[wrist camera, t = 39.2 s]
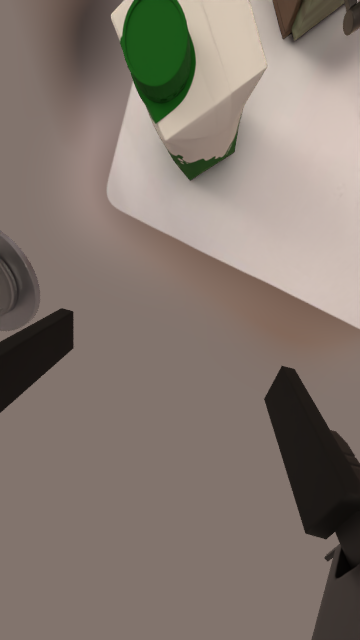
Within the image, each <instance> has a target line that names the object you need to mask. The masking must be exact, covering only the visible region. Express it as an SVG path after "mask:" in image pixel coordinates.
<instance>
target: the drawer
mask: <svg viewBox="0 0 360 640" xmlns="http://www.w3.org/2000/svg"><path fill="white" fill-rule="evenodd" d="M344 3H345V7H346V14H345V17H344V21H343V31H344V34H345V35H346V36H348V35H350V34H351V33H353V32H354V31H356V30H357V29H358V28H360V2H358V3H357V0H303V1H302V3H301V6H300V8H299V11H298V13H297V16H296V18H295V21H294V23H293V26H292V28H291V30H292V34H293V38H294V41H295V40H297V39H298V38H299V37H300V36H302V35H303V34H304V33H306V32H307V31H308V30H310V29H311V28H312V27H314V26H315V25H316V24H317V23H319V22H320V21H321V20H323V19H324V18H325V17H327V16H328V15H329V14H331V13H332V12H333V11H334V10H336V9H337V8H338V7H340V6H341V5H342V4H344ZM356 3H357V4H356Z"/></svg>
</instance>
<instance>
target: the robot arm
mask: <svg viewBox="0 0 360 640" xmlns="http://www.w3.org/2000/svg"><path fill="white" fill-rule="evenodd" d="M16 301H17V287H16V283H15V280H14V277H13V275H12V273H11V271H10V270H9V268H8V267H7V265H6V264H5V263H4V261H3V260H2V259H1V258H0V316H1V315H4V314H6V313H8V312H10V311H11V310H12V309H13V307H14V306H15V304H16ZM72 349H73V311H70V310H66V309H59V310H58V311H56V312H54V313H52V314H50V315H49V316H47V317H45V318H43V319H41V320H39V321H37V322H36V323H34V324H32V325H30V326H28V327H27V328H25V329H23V330H21V331H19V332H17V333H16V334H14V335H12V336H10V337H8V338H7V339H5V340H3V341H1V342H0V412H2V411H3V410H4V409H5V408H6V407H7V406H8V405H9V404H11V403H12V402H13V401H14V400H15V399H16V398H18V397H19V396H20V395H21V394H22V393H23V392H24V391H25V390H27V389H28V387H30V386H31V385H32V384H33V383H34V382H36V381H37V380H38V379H39V378H40V377H41V376H42V375H44V374H45V373H46V372H47V371H48V370H49V369H50V368H51V367H53V366H54V365H55V364H56V363H57V362H58V361H59V360H60V359H62V358H63V357H64V356H65V355H66V354H67V353H68V352H69V351H71V350H72ZM264 400H265V403H266V406H267V409H268V413H269V416H270V419H271V423H272V426H273V429H274V432H275V436H276V439H277V442H278V445H279V449H280V452H281V455H282V458H283V461H284V465H285V468H286V471H287V474H288V478H289V481H290V484H291V488H292V491H293V494H294V497H295V501H296V504H297V507H298V510H299V513H300V517H301V520H302V523H303V526H304V530H305V533H306V534H310V535H313V536H316V537H320V538H324V539H327V538H328V537H329V536H331V535H332V534H333V533H334V532H336V535H337V537H338V540H339V542H340V544H339V545H338V546H337V547H335V548H334V549H333V550H332V551H330V552H329V553H328V554H327V555H326V556H325V559H326V560H327V561H329V560H330V559H332V558H333V560H332V564H331V568H330V572H329V576H328V580H327V583H326V587H325V591H324V594H323V598H322V602H321V606H320V610H319V613H318V617H317V621H316V625H315V629H314V632H313V636H312V640H360V463H359V462H358V460H357V459H356V458H355V455H354V454H353V452H352V450H351V449H350V447H349V446H348V444H347V443H346V442H345V441H344V440H343V438H342V437H341V436H340V435H339V434H338V433H337V432H335V431H332V430H330V429H329V428H328V426H327V424H326V422H325V421H324V419H323V417H322V416H321V414H320V412H319V410H318V409H317V407H316V405H315V403H314V402H313V400H312V398H311V397H310V395H309V393H308V392H307V390H306V388H305V386H304V385H303V383H302V381H301V379H300V378H299V376H298V374H297V373H296V371H295V369H292V368H288V367H284V366H282V367H281V369H280V370H279V373H278V374H277V376H276V378H275V380H274V382H273V384H272V386H271V387H270V389H269V391H268V393H267V395H266V397H265V399H264Z"/></svg>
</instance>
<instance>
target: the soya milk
mask: <svg viewBox="0 0 360 640" xmlns="http://www.w3.org/2000/svg"><path fill="white" fill-rule="evenodd" d="M111 20H112V22H113V24H114V27H115V30H116V32H117V35H118V37H119V40H120V44H121V47H122V50H123V52H124V56H125V60H126V62H127V65H128V68H129V70H130V72H131V75H132V78H133V81H134V84H135V87H136V89H137V91H138V93H139V95H140V97H141V99H142V101H143V102H144V104H145V105H146V108H147V110H148V113H149V115H150V118H151V120H152V122H153V125H154V127H155V129H156V131H157V133H158V134H159V136H160V138H161V140H162V141H163V143H164V145H165V147H166V148H167V150H168V152H169V154H170V155H171V157H172V158H173V160H174V161H175V163H176V164H177V165H178V167H179V168H180V169H181V170H182V172H183V173H184V174H185V175H186V176H187V178H188V179H189V180H192V179H193V178H195V177H196V176H198V175H199V174H201V173H203V172H204V171H206V170H207V169H209V168H210V167H212V166H214V165H215V164H217V163H218V162H220V161H221V160H223V159H224V158H226V157H228V156H229V155H231V154H232V153H234V151H235V145H236V139H237V133H238V127H239V122H240V118H241V115H242V111H243V107H244V105H245V103H246V101H247V100H248V98H249V96H250V95H251V93H252V91H253V90H254V88H255V86H256V85H257V83H258V81H259V80H260V78H261V76H262V75H263V73H264V71H265V70H266V68H267V63H266V59H265V56H264V52H263V48H262V45H261V41H260V38H259V34H258V30H257V27H256V23H255V19H254V16H253V12H252V8H251V5H250V1H249V0H124V1H123V2H122V3H121V4H120V5H119V7H117V9H116V10H115V11H114V12H113V13H112V14H111Z"/></svg>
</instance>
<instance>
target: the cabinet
mask: <svg viewBox="0 0 360 640" xmlns="http://www.w3.org/2000/svg"><path fill="white" fill-rule="evenodd" d="M302 1H303V0H273V4H274V8H275V11H276V15H277V19H278V23H279V26H280V30H281V34H282V38H283V39H284V38H285V37H287V36H288V35H289V34H290V33H292V30H291V28H292V26H293V23H294V21H295V18H296V16H297V13H298V11H299V8H300V6H301V3H302Z"/></svg>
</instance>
